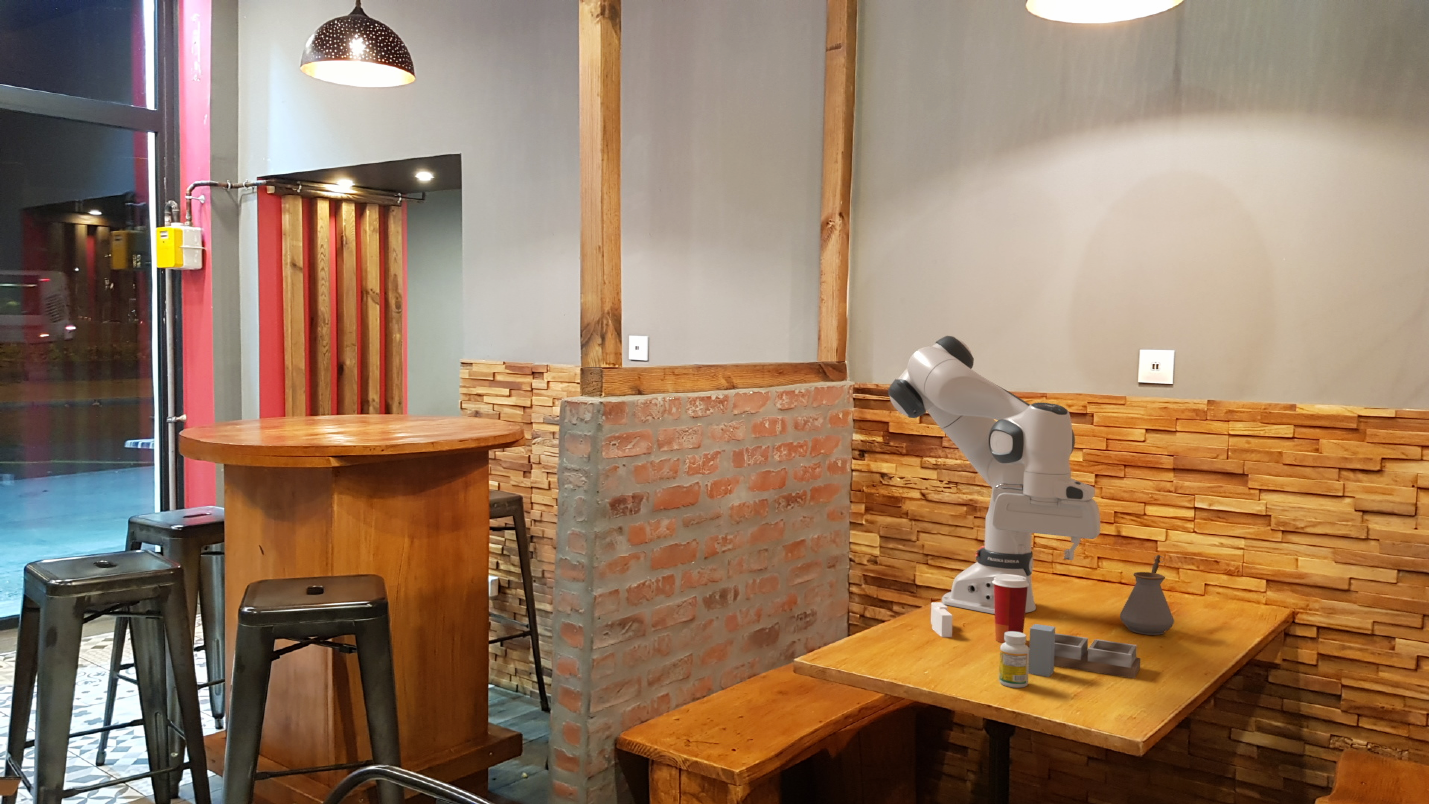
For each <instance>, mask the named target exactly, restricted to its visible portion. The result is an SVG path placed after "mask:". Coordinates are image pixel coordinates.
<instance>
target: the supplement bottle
mask: <svg viewBox="0 0 1429 804" xmlns="http://www.w3.org/2000/svg"><path fill="white" fill-rule="evenodd" d="M1004 640H1005V641H1006V642H1005V643H1001V645H1000V647H999V648H1000V649H999V676H998V681H999V684H1001V685H1002V686H1005V687H1008V688H1013V689H1014V688H1015V689H1016V688H1017V689H1018V688H1019V689H1020V688H1025V687H1027V686H1028V684H1029V674H1028V672H1029V646H1028V645H1027V644H1026V643H1027V635H1026V634H1025V633H1024V632H1023V633H1021V632H1014V631H1009V632H1005V634H1004Z"/></svg>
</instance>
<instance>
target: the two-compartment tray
mask: <svg viewBox="0 0 1429 804" xmlns="http://www.w3.org/2000/svg"><path fill="white" fill-rule="evenodd" d="M1137 647H1138V645H1137V644H1131V643H1124V642H1118V641H1110V640H1103V639H1098V638H1095V639H1094V640H1093V641H1092V643H1091V644H1090V645H1089V638H1088V637H1083V636H1077V635H1076V636H1075V635H1069V634H1063V633H1062V634H1061V633H1056V632H1055V648H1054V667H1060V668H1068V669H1072V670H1078V671H1080V670H1081V671H1086V672H1091V673H1092V672H1093V673H1096V674H1097V673H1099V674H1102V675H1103V674H1105V675H1110V676H1116V677H1123V678H1129V679H1136V676H1137V674H1138V673H1139V671H1140V670H1141V658H1142V657H1141V658H1140V657H1138V656H1137V654H1138V653H1137Z"/></svg>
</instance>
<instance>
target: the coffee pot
mask: <svg viewBox="0 0 1429 804" xmlns="http://www.w3.org/2000/svg"><path fill="white" fill-rule="evenodd" d="M1161 558H1162V559H1163V560H1162V561H1161ZM1153 560H1154V563H1153V564H1152V569H1151V572H1148V571H1137V572H1134V573H1132V574H1133V576H1134V578H1135V584H1134V587H1132V591H1131V592H1130V594H1129V597H1128V598H1127V600H1126V602H1125V603H1124V606H1123V608H1122V610H1121V611H1120V614H1119V617H1120V620H1121V622H1122V623H1123V625H1125V626H1126V627H1127V628H1128V630H1129V631H1130V632H1133V633H1137V634H1142V635H1147V636H1148V635H1150V636H1158V635H1164V634H1165V632H1167V631H1168V630H1170V629H1171V628H1172V627H1173V625H1174V624H1175V619H1174V617H1173V614H1172V612H1171V609H1170V606H1169V604H1168V601H1167V599H1166V596H1165V593H1164V591H1163V588H1162V586H1161V584H1162V583H1163V581H1164V580H1165V579H1166V576H1164V575H1163V574H1161V573H1157V572H1158V570H1159V567H1160V565H1159V564H1160V563H1164V561H1165V558H1164V557H1163V556H1161V555H1160V554H1157V555H1156V556H1154V557H1153Z"/></svg>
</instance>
